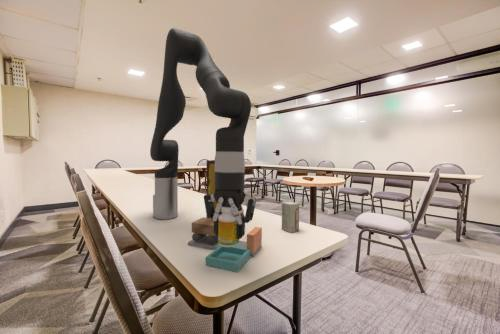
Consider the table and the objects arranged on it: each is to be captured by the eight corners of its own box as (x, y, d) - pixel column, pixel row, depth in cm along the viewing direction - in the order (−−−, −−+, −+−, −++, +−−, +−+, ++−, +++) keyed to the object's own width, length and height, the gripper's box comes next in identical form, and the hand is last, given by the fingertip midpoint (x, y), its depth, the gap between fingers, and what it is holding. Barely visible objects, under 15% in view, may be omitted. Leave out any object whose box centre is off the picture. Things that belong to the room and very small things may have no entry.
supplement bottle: (236, 249, 54) (237, 209, 53) (215, 247, 55) (215, 207, 54) (241, 240, 59) (241, 204, 58) (221, 239, 60) (222, 203, 59)
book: (226, 234, 76) (227, 161, 75) (202, 233, 76) (202, 160, 75) (233, 216, 98) (233, 160, 97) (213, 216, 98) (214, 159, 97)
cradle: (205, 265, 55) (205, 257, 54) (222, 251, 63) (222, 244, 62) (237, 272, 52) (237, 263, 51) (250, 256, 60) (250, 249, 59)
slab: (191, 240, 67) (191, 222, 67) (203, 233, 73) (203, 217, 72) (214, 244, 64) (214, 226, 64) (224, 237, 70) (225, 220, 70)
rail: (187, 244, 67) (187, 225, 67) (200, 236, 73) (200, 219, 73) (253, 256, 59) (253, 235, 59) (261, 246, 66) (261, 227, 66)
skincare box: (299, 231, 80) (300, 203, 80) (290, 233, 78) (290, 204, 78) (290, 227, 85) (290, 200, 84) (280, 228, 83) (281, 202, 82)
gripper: (196, 169, 55) (196, 237, 56) (251, 172, 50) (250, 246, 51) (212, 168, 62) (212, 228, 63) (261, 170, 57) (260, 235, 58)
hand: (229, 236), depth 57 cm, fingers closed on supplement bottle, 5 cm apart
